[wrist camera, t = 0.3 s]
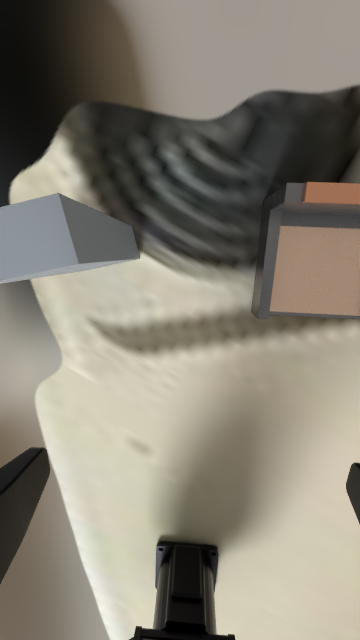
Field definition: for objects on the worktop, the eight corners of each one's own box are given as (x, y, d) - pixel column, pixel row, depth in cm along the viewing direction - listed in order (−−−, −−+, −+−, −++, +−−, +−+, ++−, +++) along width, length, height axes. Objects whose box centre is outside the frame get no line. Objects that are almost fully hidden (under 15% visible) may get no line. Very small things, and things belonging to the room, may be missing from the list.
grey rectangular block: (139, 258, 21) (78, 263, 10) (80, 271, 21) (-41, 289, 10) (131, 224, 20) (57, 189, 9) (71, 238, 21) (-69, 220, 10)
